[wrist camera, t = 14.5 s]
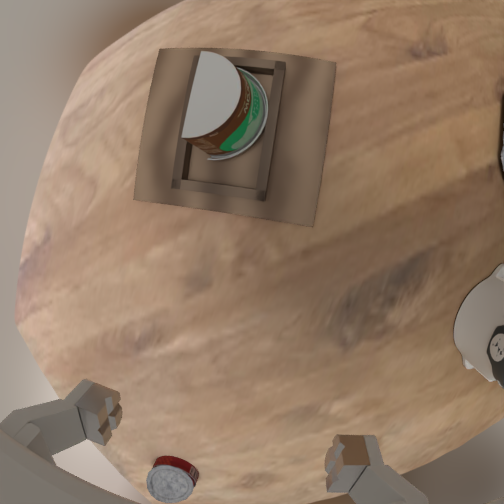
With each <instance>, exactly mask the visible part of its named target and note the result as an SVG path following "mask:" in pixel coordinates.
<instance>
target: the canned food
mask: <svg viewBox="0 0 504 504" xmlns="http://www.w3.org/2000/svg"><path fill="white" fill-rule="evenodd" d="M198 476H199V473H198V470H197V469H196V468H195V467H194V466H193V465H192V464H190V463H189V462H187V461H185V460H183V459H180V458H177V457H173V456H161V457H159V458H157V460H156V462H155V464H154V466H153V468H152V470H151V471H150V472H149V473H148V477H147V480H146V481H147V488H148V490H149V492H150V494H151V496H153V497H154V498H155V499H156V500H158V501H161V502H165V503H176V502H180V501H182V500H185V499H187V498H188V497H189V496H190V495H191V494H192V491H193V488H194V487H195V486H196V482H197V479H198Z"/></svg>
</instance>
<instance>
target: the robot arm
mask: <svg viewBox="0 0 504 504" xmlns="http://www.w3.org/2000/svg"><path fill="white" fill-rule="evenodd" d="M454 341H455V344H456V347H457V348H458V350H459V351H460V353H461V354H462V359H463V365H464V367H466V368H467V369H472V368H475V369H476V370H477V371H478V372H479V373H480V374H482V375H483V376H484V377H485V378H486V379H487V380H488V381H490V382H492V381H497V382H498V384H499V385H500V386H501V387H502V388H503V389H504V264H503V263H502V264H500V265H499V266H498V267H497V268H496V269H495V271H494V272H493V273H492V275H491V276H490V277H488V278H487V279H485V280H484V281H482V282H481V283H479V284H478V285H477V286H476V287H475V288H474V289H473V290H472V291H471V292H470V293H469V294H468V296H467V297H466V299H465V300H464V302H463V304H462V305H461V307H460V310H459V312H458V315H457V318H456V321H455V326H454ZM120 399H121V398H120V393H119V392H118V391H115V390H113V389H110V388H108V387H105V386H103V385H100V384H98V383H95V382H92V381H90V380H88V379H84V380H82V381H81V382H80V383H79V384H78V385H77V386H76V387H75V388H74V389H73V390H72V391H71V393H70V394H69V395H68V396H67V397H66V398H65V399H64V400H62V399H58V400H55V401H51V402H47V403H43V404H39V405H35V406H31V407H27V408H23V409H18V410H14V411H13V412H12V413H10V414H9V415H8V416H7V417H6V418H5V419H4V420H3V421H2V422H1V423H0V504H140V503H137V502H135V501H132V500H129V499H127V498H124V497H121V496H119V495H116V494H114V493H111V492H109V491H107V490H104V489H102V488H100V487H98V486H95V485H93V484H91V483H89V482H87V481H85V480H82V479H80V478H79V477H77V476H74V475H73V474H71V473H69V472H67V471H65V470H63V469H61V468H60V467H58V466H56V464H55V462H54V460H53V457H52V455H54V454H56V453H59V452H61V451H63V450H65V449H67V448H70V447H72V446H74V445H76V444H78V443H80V442H82V441H84V440H86V439H88V440H91V441H93V442H96V443H98V444H101V445H103V446H105V445H106V444H107V442H108V441H109V439H110V438H111V436H112V433H111V430H113V429H116V428H117V427H118V425H119V424H120V421H121V418H122V407H121V406H120V404H119V403H118V402H119V401H120ZM325 471H326V472H327V473H328V476H327V478H326V487H327V492H340V493H348V494H349V495H350V496H351V498H352V499H353V500H354V501H355V502H356V504H429V502H428V499H427V496H426V495H425V494H423V493H422V492H420V491H419V490H418V489H417V488H416V487H414V486H413V485H412V484H410V483H409V482H408V481H407V480H406V479H404V478H403V477H402V476H401V475H399V474H398V473H397V472H396V471H394V470H393V469H392V468H391V467H390V466H388V465H384V462H383V459H382V455H381V452H380V449H379V445H378V442H377V439H376V436H375V435H336V436H335V437H334V439H333V446H332V447H330V448H329V449H328V451H327V454H326V457H325ZM485 504H504V497H501V498H498V499H495V500H493V501H490V502H488V503H485Z"/></svg>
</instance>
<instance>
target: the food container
mask: <svg viewBox="0 0 504 504" xmlns="http://www.w3.org/2000/svg"><path fill="white" fill-rule="evenodd" d="M267 115H268V101H267V97H266V93H265V91H264V89H263V87H262V85H261V84H260V82H259V81H258V80H257V79H256V78H255V77H254V76H253V75H251V74H250V73H249V72H247V71H245V70H243V69H241V68H237V67H235V66H234V65H233V64H232V63H231V62H230V61H229V60H228V59H226V58H225V57H224V56H221V55H219V54H216V53H214V52H209V51H201V54H200V58H199V62H198V66H197V70H196V74H195V78H194V82H193V86H192V90H191V95H190V99H189V104H188V108H187V113H186V118H185V122H184V127H183V132H182V137H181V138H183V139H184V140H186V141H188V142H189V143H191V144H192V145H194V146H196V147H197V148H199V149H201V150H202V151H204V152H205V153H207V154H209V155H210V156H212V157H211V158H208V159H207V160H222V159H226V158H230V157H233V156H235V155H238V154H240V153H242V152H243V151H245V150H247V149H248V148H249V147H250V146H251V145H253V143H254V142H255V141H256V140H257V139H258V137H259V136H260V134H261V133H262V131H263V129H264V127H265V123H266V119H267Z"/></svg>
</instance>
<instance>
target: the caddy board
mask: <svg viewBox="0 0 504 504" xmlns="http://www.w3.org/2000/svg"><path fill="white" fill-rule="evenodd" d="M201 51H209V52H214V53H216V54H219V55H221V56H224V57H225V58H226V59H228V60H229V61H230V62H231V63H232V64H233V65H234V66H235V67H237V68H241V69H243V70H245V71H247V72H249V73H250V74H251V75H253V76H254V77H255V78H256V79H257V80H258V81H259V82H260V84H261V85H262V87H263V89H264V91H265V93H266V97H267V101H268V115H267V119H266V123H265V127H264V129H263V131H262V133H261V134H260V136H259V137H258V139H257V140H256V141H255V142H254V143H253V145H251V146H250V147H249V148H248V149H247V150H245V151H243V152H242V153H240V154H238V155H235V156H233V157H230V158H226V159H222V160H207V159H208V158H211V157H212V156H210V155H209V154H207V153H205V152H204V151H202V150H201V149H199V148H197V147H196V146H194V145H192V144H191V143H189V142H188V141H186V140H184V139H183V138H181V137H182V132H183V127H184V122H185V118H186V113H187V108H188V104H189V99H190V95H191V90H192V86H193V82H194V78H195V74H196V70H197V66H198V62H199V58H200V54H201ZM335 70H336V62H331V61H326V60H321V59H315V58H309V57H303V56H297V55H290V54H282V53H274V52H265V51H255V50H242V49H224V48H168V49H160V50H159V54H158V58H157V62H156V66H155V70H154V74H153V79H152V83H151V88H150V93H149V98H148V103H147V108H146V113H145V119H144V124H143V130H142V136H141V143H140V150H139V156H138V164H137V172H136V180H135V189H134V198H133V200H138V201H146V202H154V203H161V204H168V205H176V206H183V207H190V208H197V209H204V210H210V211H217V212H224V213H230V214H237V215H243V216H249V217H255V218H262V219H268V220H274V221H280V222H285V223H291V224H297V225H303V226H309V227H313V223H314V218H315V212H316V206H317V200H318V195H319V188H320V182H321V176H322V170H323V163H324V157H325V150H326V143H327V136H328V128H329V121H330V113H331V105H332V97H333V89H334V80H335Z"/></svg>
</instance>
